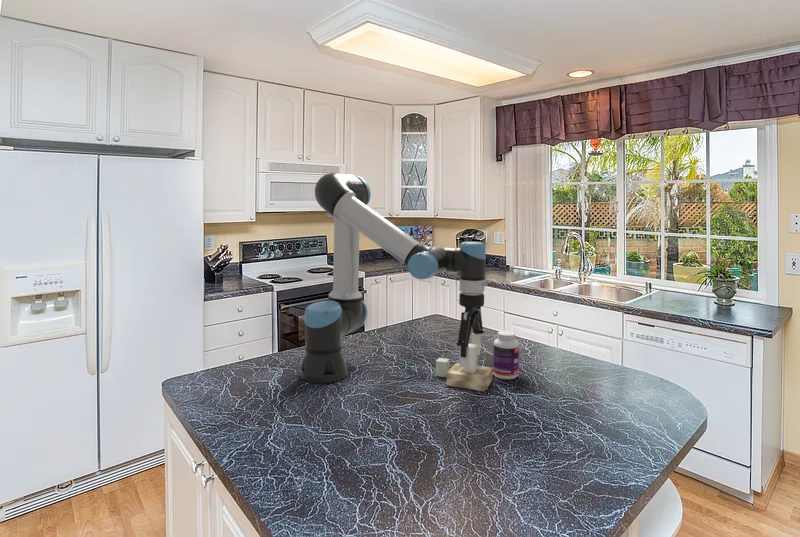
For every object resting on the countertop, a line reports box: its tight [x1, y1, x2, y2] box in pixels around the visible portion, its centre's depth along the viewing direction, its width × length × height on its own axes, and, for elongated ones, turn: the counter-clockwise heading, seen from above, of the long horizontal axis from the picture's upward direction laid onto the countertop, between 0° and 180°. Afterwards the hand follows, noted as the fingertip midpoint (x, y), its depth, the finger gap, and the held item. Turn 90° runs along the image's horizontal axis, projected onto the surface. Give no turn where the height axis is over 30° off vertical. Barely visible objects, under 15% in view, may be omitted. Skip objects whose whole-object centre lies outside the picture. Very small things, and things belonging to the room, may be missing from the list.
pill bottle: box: [492, 330, 520, 380], centre depth 155 cm, size 8×8×14 cm
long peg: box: [463, 343, 479, 374], centre depth 149 cm, size 4×4×12 cm
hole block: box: [446, 362, 494, 392], centre depth 150 cm, size 12×10×4 cm
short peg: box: [435, 357, 450, 378], centre depth 157 cm, size 4×4×5 cm
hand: (470, 360), depth 149 cm, fingers open, 13 cm apart
